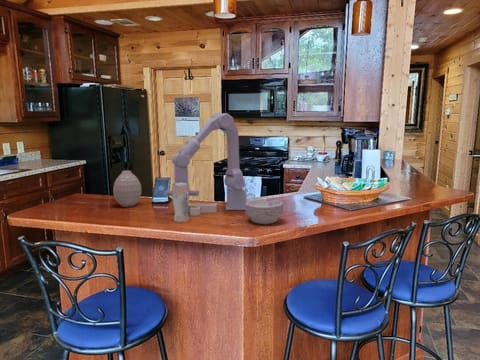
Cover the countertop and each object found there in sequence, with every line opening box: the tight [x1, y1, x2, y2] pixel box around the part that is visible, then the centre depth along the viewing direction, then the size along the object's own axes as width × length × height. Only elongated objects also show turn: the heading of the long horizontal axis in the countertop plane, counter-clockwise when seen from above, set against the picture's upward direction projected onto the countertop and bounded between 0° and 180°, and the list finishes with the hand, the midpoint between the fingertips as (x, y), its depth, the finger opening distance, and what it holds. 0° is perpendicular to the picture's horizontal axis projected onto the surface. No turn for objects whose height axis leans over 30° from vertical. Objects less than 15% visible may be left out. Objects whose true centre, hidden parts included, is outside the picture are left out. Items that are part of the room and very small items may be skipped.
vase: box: [112, 170, 142, 208], centre depth 176 cm, size 13×13×17 cm
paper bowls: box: [244, 198, 284, 225], centre depth 149 cm, size 15×15×8 cm
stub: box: [189, 206, 201, 217], centre depth 160 cm, size 4×5×3 cm
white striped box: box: [188, 202, 218, 214], centre depth 166 cm, size 13×6×3 cm, turn 91°
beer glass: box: [171, 182, 191, 223], centre depth 150 cm, size 7×7×15 cm
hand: (182, 212), depth 160 cm, fingers closed
